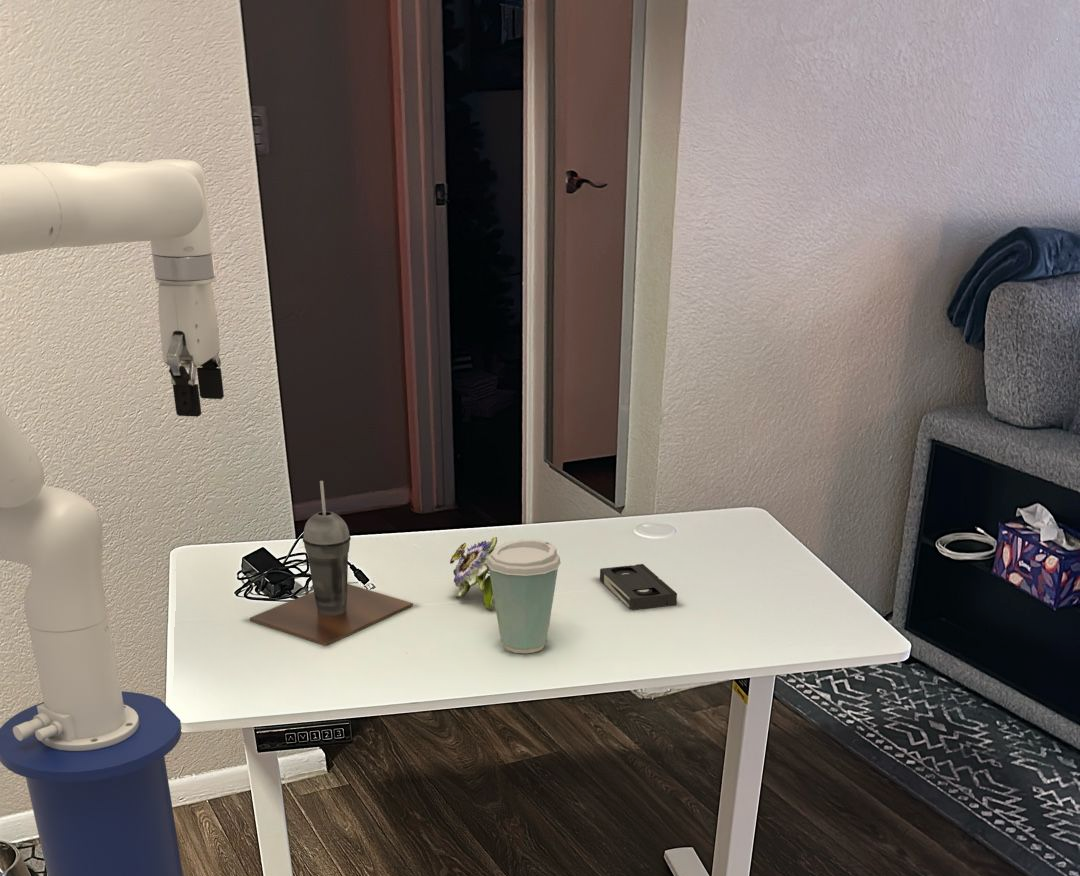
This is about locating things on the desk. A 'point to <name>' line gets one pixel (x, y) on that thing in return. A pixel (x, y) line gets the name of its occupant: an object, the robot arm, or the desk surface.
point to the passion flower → (474, 569)
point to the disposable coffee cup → (523, 592)
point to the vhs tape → (637, 587)
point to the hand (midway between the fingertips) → (200, 406)
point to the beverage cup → (328, 559)
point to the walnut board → (327, 629)
